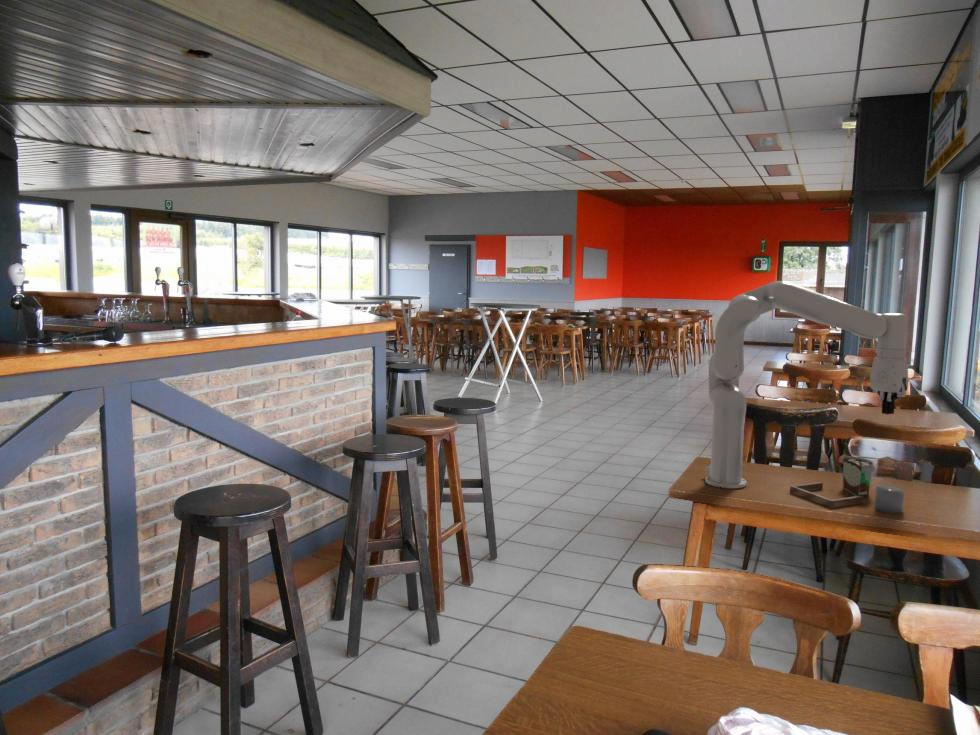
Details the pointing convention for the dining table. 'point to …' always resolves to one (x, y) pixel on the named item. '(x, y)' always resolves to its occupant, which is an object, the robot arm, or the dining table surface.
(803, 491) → the frame
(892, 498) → the grey glossy rounded part
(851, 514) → the dining table surface
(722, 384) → the robot arm
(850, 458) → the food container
